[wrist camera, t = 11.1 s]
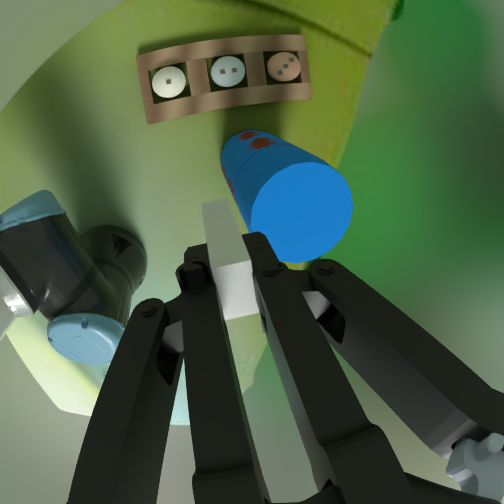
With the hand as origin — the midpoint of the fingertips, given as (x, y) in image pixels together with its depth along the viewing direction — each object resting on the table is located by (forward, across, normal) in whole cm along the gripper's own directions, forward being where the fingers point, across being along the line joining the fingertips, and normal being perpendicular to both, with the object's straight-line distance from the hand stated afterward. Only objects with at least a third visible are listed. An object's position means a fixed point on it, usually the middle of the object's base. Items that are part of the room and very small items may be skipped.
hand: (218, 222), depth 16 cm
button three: (+32, +15, +11) cm, 37 cm away
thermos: (+33, +8, -5) cm, 34 cm away
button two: (+32, +6, +11) cm, 34 cm away
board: (+32, +6, +11) cm, 35 cm away
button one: (+32, -3, +11) cm, 34 cm away
